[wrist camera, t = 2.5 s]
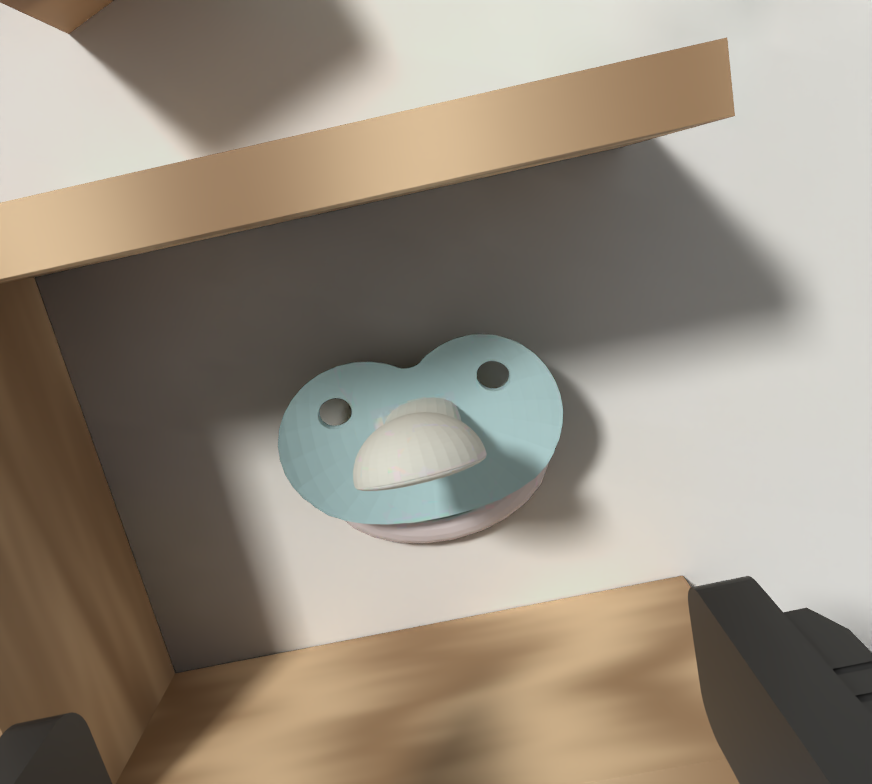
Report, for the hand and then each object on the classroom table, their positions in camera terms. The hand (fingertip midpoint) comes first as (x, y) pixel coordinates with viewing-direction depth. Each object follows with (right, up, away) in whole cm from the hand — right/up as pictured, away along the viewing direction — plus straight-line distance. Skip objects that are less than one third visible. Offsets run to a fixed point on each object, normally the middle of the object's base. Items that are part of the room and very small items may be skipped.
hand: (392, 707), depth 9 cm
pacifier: (0, +3, +12) cm, 12 cm away
